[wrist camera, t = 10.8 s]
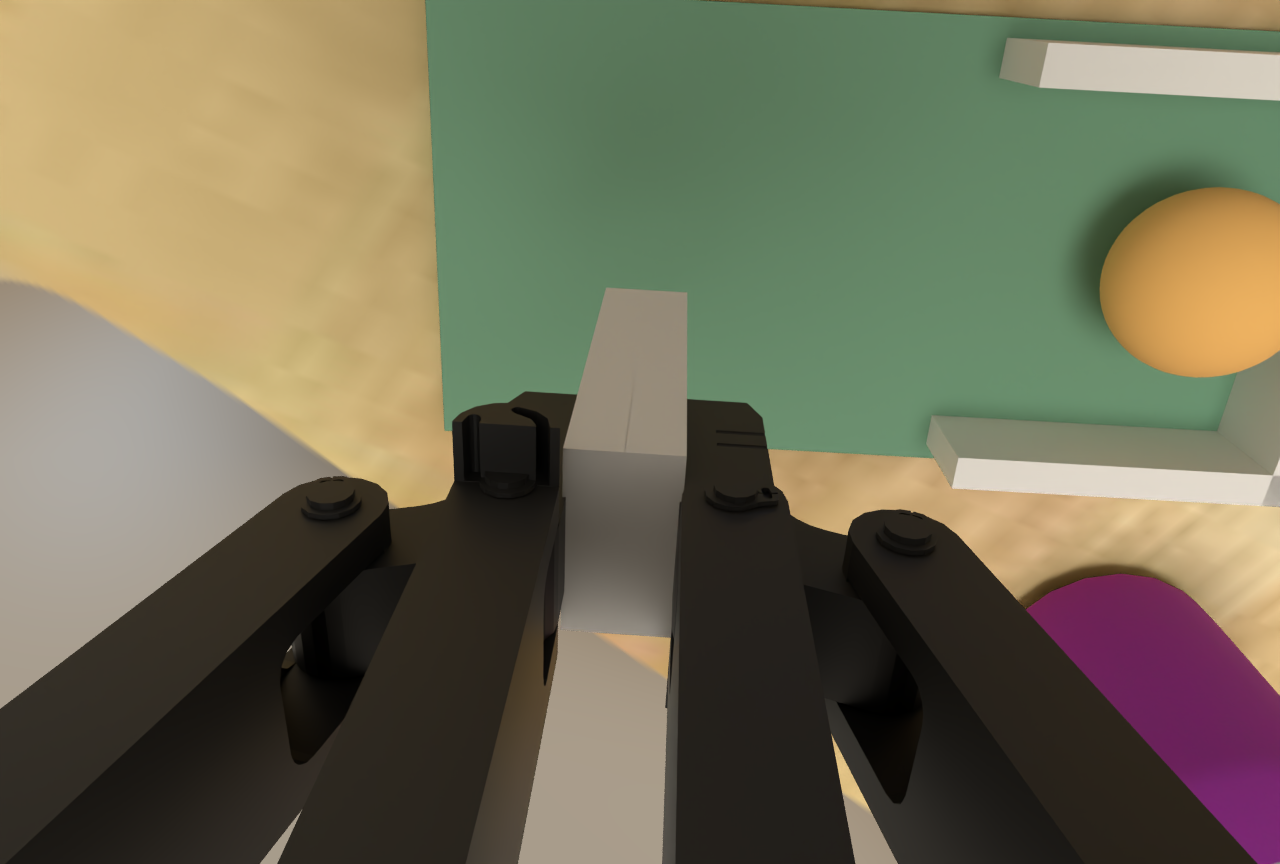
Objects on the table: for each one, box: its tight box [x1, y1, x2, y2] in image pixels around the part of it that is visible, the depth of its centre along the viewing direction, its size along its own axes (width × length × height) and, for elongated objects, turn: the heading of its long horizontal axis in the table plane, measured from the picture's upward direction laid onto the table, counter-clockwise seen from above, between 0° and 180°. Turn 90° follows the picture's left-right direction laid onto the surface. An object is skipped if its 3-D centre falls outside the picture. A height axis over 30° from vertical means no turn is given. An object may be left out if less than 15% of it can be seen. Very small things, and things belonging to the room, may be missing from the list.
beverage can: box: [1026, 574, 1280, 864], centre depth 28 cm, size 8×8×12 cm
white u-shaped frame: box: [926, 38, 1280, 507], centre depth 26 cm, size 10×12×3 cm
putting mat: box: [425, 0, 1280, 458], centre depth 27 cm, size 26×13×1 cm, turn 87°
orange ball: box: [1100, 187, 1280, 378], centre depth 25 cm, size 5×5×5 cm
